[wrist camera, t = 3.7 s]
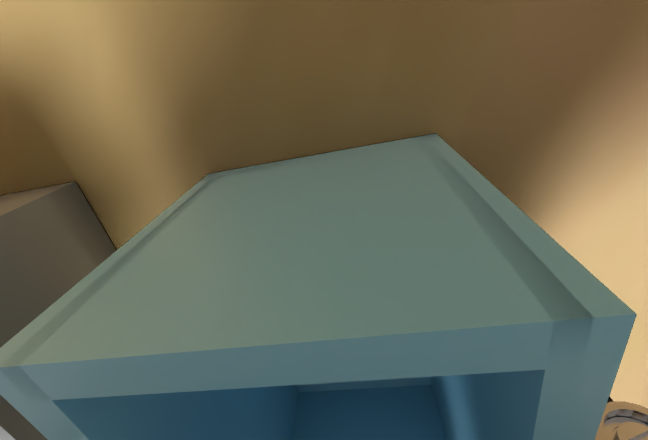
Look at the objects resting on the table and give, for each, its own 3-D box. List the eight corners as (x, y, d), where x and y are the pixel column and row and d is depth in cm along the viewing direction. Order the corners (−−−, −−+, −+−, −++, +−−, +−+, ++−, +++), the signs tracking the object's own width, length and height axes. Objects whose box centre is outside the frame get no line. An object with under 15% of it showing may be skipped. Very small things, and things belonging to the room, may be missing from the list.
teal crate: (435, 133, 8) (637, 315, 2) (444, 379, 13) (524, 648, 7) (208, 173, 9) (-26, 369, 3) (290, 388, 14) (247, 630, 8)
